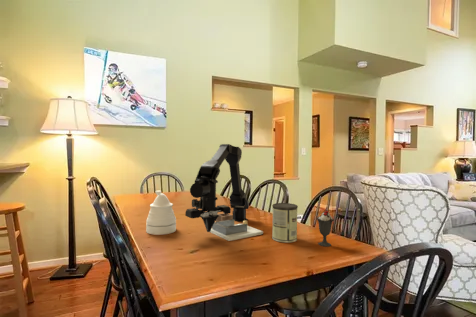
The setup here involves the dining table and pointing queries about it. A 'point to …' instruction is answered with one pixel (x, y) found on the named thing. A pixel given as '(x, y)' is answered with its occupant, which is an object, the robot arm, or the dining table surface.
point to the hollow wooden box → (224, 217)
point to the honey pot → (161, 216)
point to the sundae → (325, 227)
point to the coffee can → (284, 222)
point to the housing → (229, 227)
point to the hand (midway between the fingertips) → (208, 231)
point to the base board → (235, 236)
